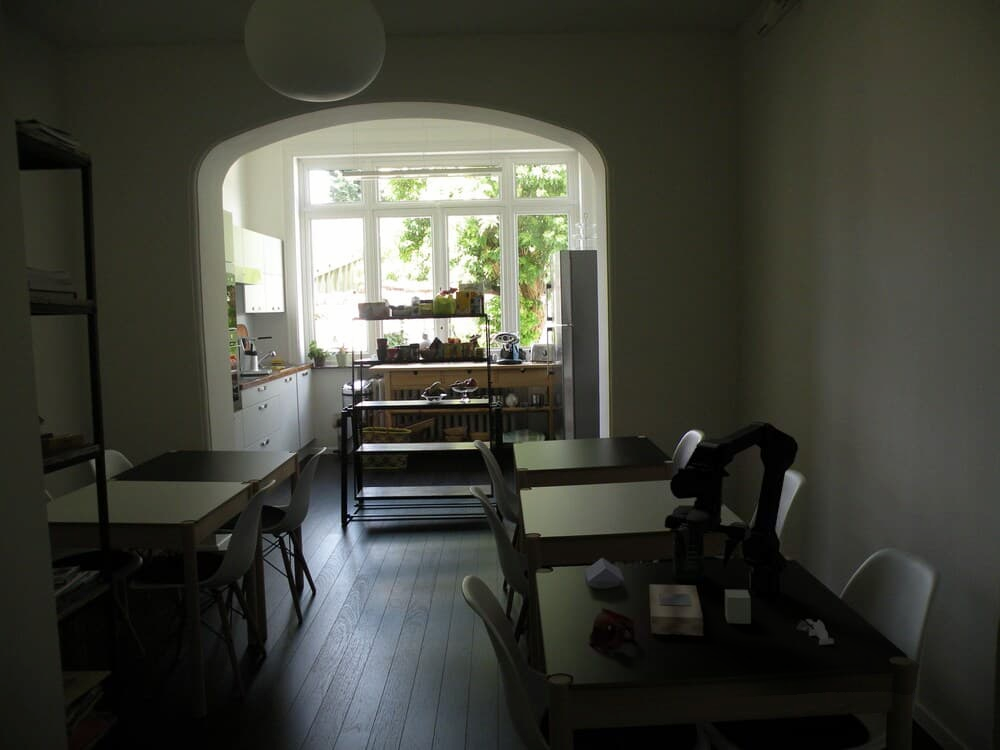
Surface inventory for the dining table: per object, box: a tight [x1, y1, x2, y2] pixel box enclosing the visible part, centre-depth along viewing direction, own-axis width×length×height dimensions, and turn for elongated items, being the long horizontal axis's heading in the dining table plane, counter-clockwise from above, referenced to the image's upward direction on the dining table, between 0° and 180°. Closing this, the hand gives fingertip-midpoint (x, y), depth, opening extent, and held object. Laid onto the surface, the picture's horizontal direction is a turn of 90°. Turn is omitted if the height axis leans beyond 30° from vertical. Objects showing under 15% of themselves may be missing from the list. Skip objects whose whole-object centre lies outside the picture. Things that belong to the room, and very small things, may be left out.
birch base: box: [648, 583, 704, 637], centre depth 183 cm, size 11×20×4 cm, turn 171°
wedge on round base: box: [584, 557, 625, 590], centre depth 206 cm, size 9×7×13 cm
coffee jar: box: [672, 505, 705, 583], centre depth 209 cm, size 10×8×19 cm
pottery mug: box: [588, 607, 636, 652], centre depth 170 cm, size 12×10×8 cm
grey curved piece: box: [796, 618, 835, 646], centre depth 173 cm, size 15×7×4 cm, turn 4°
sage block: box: [724, 589, 752, 625], centre depth 181 cm, size 5×5×6 cm
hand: (704, 563), depth 183 cm, fingers open, 9 cm apart
